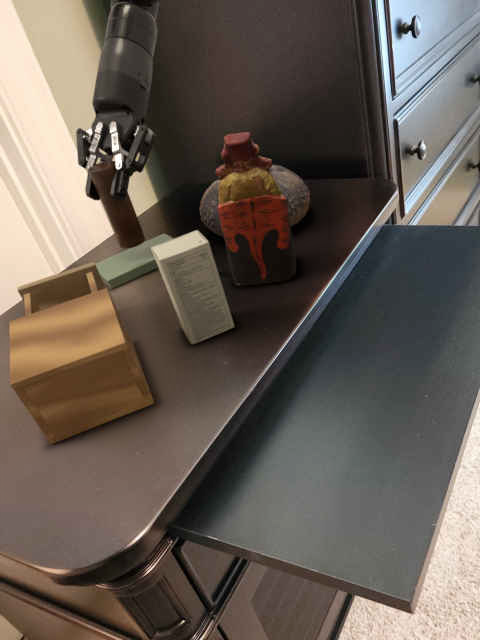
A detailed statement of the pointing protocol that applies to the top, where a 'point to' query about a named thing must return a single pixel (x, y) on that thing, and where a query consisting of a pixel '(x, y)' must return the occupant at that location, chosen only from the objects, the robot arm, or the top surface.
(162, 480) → the top surface
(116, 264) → the board
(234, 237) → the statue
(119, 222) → the brown wooden cylinder
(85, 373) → the cabinet
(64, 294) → the drawer
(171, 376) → the top surface
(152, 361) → the top surface
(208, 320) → the cosmetic box
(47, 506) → the top surface
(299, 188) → the sea urchin shell
